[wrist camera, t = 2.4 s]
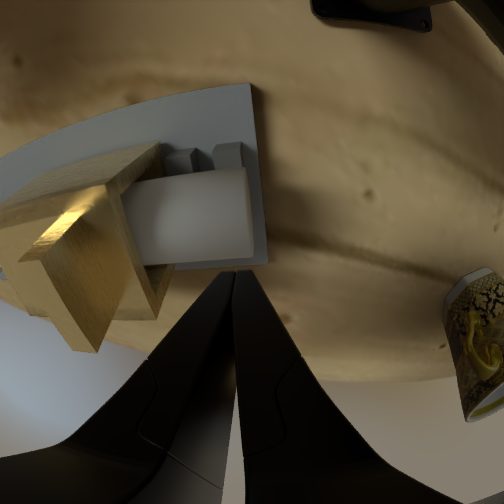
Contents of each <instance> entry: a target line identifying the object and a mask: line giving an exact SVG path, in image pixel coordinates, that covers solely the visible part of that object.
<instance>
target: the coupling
mask: <svg viewBox="0 0 504 504" xmlns="http://www.w3.org/2000/svg"><path fill="white" fill-rule="evenodd" d="M164 177H168V174H167V170H166V165H165V161H164V156H163V151H162V147H161V142H160V141H156V142H151V143H147V144H142V145H138V146H133V147H129V148H125V149H121V150H117V151H113V152H109V153H106V154H102V155H98V156H95V157H91V158H88V159H84V160H81V161H78V162H74V163H71V164H68V165H65V166H62V167H59V168H56V169H53V170H50V171H47V172H45V173H42V174H41V175H39V176H38V177H36V178H35V179H33V180H32V181H30V182H29V183H27V184H26V185H25V186H23V187H22V188H20V189H19V190H18V191H16V192H15V193H13V194H12V195H11V196H9V197H8V198H7V199H5V200H4V201H3V202H2V203H0V267H1V269H2V271H3V273H4V274H5V276H6V278H7V280H8V281H9V283H10V285H11V287H12V288H13V290H14V292H15V293H16V295H17V296H18V298H19V300H20V301H21V303H22V304H23V306H24V307H25V309H26V311H27V312H28V314H29V315H30V316H40V317H49V318H50V319H51V321H52V322H53V324H54V325H55V327H56V328H57V330H58V331H59V332H60V334H61V335H62V336H63V338H64V339H65V341H66V342H67V343H68V345H69V346H70V347H71V349H72V350H73V351H80V352H88V353H98V350H99V348H100V346H101V343H102V341H103V339H104V337H105V334H106V332H107V330H108V327H109V325H110V323H111V321H112V320H157V317H158V314H159V311H160V308H161V306H162V303H163V300H164V297H165V294H166V291H167V288H168V285H169V283H170V280H171V277H172V274H173V272H174V269H175V266H176V263H169V264H156V265H143V263H142V261H141V258H140V255H139V252H138V250H137V247H136V244H135V241H134V238H133V236H132V233H131V230H130V227H129V224H128V221H127V218H126V215H125V211H124V208H123V205H122V202H121V199H120V195H121V194H122V193H123V192H124V191H125V190H126V189H127V188H128V187H129V186H130V185H131V184H132V183H135V182H141V181H146V180H152V179H158V178H164Z"/></svg>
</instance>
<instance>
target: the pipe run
mask: <svg viewBox="0 0 504 504" xmlns="http://www.w3.org/2000/svg"><path fill="white" fill-rule="evenodd" d="M156 141H160V142H161V147H162V151H163V156H164V161H165V165H166V170H167V174H168V177H164V178H158V179H152V180H146V181H141V182H135V183H132V184H131V185H130V186H129V187H128V188H127V189H126V190H125V191H124V192H123V193H122V194H121V195H120V199H121V202H122V205H123V208H124V211H125V215H126V218H127V221H128V224H129V227H130V230H131V233H132V236H133V238H134V241H135V244H136V247H137V250H138V252H139V255H140V258H141V261H142V263H143V265H156V264H169V263H176V266H175V269H174V271H180V270H194V269H208V268H222V267H236V266H249V265H262V264H269V262H268V249H267V238H266V228H265V217H264V207H263V197H262V187H261V177H260V168H259V158H258V149H257V140H256V130H255V121H254V113H253V104H252V95H251V86H250V83H243V84H234V85H227V86H219V87H213V88H207V89H201V90H195V91H190V92H184V93H179V94H175V95H170V96H165V97H161V98H157V99H153V100H149V101H145V102H141V103H137V104H133V105H130V106H126V107H123V108H120V109H116V110H113V111H110V112H107V113H104V114H101V115H98V116H95V117H92V118H89V119H86V120H83V121H81V122H78V123H75V124H73V125H70V126H68V127H65V128H63V129H60V130H58V131H55V132H53V133H51V134H48V135H46V136H44V137H42V138H39V139H37V140H35V141H33V142H31V143H29V144H27V145H25V146H23V147H21V148H19V149H17V150H15V151H13V152H11V153H9V154H7V155H5V156H3V157H1V158H0V203H2V202H3V201H4V200H5V199H7V198H8V197H9V196H11V195H12V194H13V193H15V192H16V191H18V190H19V189H20V188H22V187H23V186H25V185H26V184H27V183H29V182H30V181H32V180H33V179H35V178H36V177H38V176H39V175H41V174H42V173H45V172H47V171H50V170H53V169H56V168H59V167H62V166H65V165H68V164H71V163H74V162H78V161H81V160H84V159H88V158H91V157H95V156H98V155H102V154H106V153H109V152H113V151H117V150H121V149H125V148H129V147H133V146H138V145H142V144H147V143H151V142H156ZM0 277H1V279H2V280H7V278H6V276H5V274H4V273H3V271H2V269H1V267H0Z"/></svg>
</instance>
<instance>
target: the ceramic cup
mask: <svg viewBox="0 0 504 504" xmlns="http://www.w3.org/2000/svg"><path fill="white" fill-rule="evenodd" d="M442 317H443V319H442V321H443V325H444V328H445V332H446V335H447V338H448V342H449V346H450V350H451V354H452V358H453V362H454V365H455V369H456V375H457V382H458V388H459V393H460V398H461V404H462V409H463V413H464V418H465V421H466V422H475V421H478V420H481V419H483V418H486V417H487V416H490V415H492V414H494V413H495V412H497V411H498V410H500V409H502V408H504V280H503V279H502V278H501V277H500V276H499V275H497V274H496V273H495V272H493V271H492V270H491V269H490V268H486V267H484V268H482V269H480V270H477V271H475V272H473V273H471V274H468V275H466V276H464V277H462V279H461V280H460V281H459V282H458V283H457V285H456V286H455V287H454V288H453V289H452V290H451V292H450V293H449V294H448V295H447V296H446V298H445V302H444V309H443V316H442Z"/></svg>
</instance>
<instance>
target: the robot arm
mask: <svg viewBox="0 0 504 504" xmlns="http://www.w3.org/2000/svg"><path fill="white" fill-rule="evenodd" d="M449 1H454V0H310V6H311V11H312V13H313V14H314V16H316V17H318V18H321V19H336V20H349V21H359V22H367V23H375V24H381V25H388V26H393V27H399V28H404V29H409V30H413V31H417V32H422V33H426V32H430V31H431V30H432V19H431V13H430V6H432V5H436V4H441V3H445V2H449ZM455 1H456V2H457V3H458V4H459V5H460V6H461V7H462V8H463V9H464V10H465V11H466V12H467V13H468V14H469V15H470V16H471V17H472V18H473V19H474V20H475V22H476V23H477V24H478V25H479V26H480V27H481V28H482V29H483V30H484V32H485V33H486V35H487V36H488V37H489V38H490V40H491V41H492V42H493V43H494V44H495V45H496V46H497V47H498V49H499V50H500V51H501V52H502V54H503V55H504V0H455ZM318 6H324V7H325V8H326V10H327V12H326V13H322V12H320V11H319V10H318ZM421 21H423V22H424V24H425V28H424V27H423V26H422V25H421ZM147 359H148V360H145V361H144V362H143V363H142V364H141V365H140V367H139V368H138V369H137V370H136V371H135V372H134V373H133V375H132V376H131V377H130V378H129V379H128V380H127V381H126V383H125V384H124V385H123V386H122V387H121V388H120V389H119V390H118V391H117V392H116V393H115V394H114V395H113V396H112V397H111V398H110V399H109V400H108V401H107V402H106V403H105V404H104V405H103V406H102V407H101V408H100V409H99V410H98V411H97V412H96V413H94V414H93V415H92V416H91V417H90V418H89V419H88V420H87V421H86V422H85V423H84V424H83V425H82V426H81V427H80V428H79V429H78V430H77V431H76V432H75V433H73V434H72V435H71V436H70V437H68V438H67V439H65V440H64V441H62V442H60V443H58V444H56V445H54V446H51V447H47V448H43V449H39V450H35V451H31V452H26V453H22V454H17V455H12V456H7V457H1V458H0V504H221V501H222V493H223V491H222V490H223V485H224V478H225V470H226V463H227V455H228V447H229V440H230V431H231V424H232V417H233V409H234V401H235V393H236V386H237V396H238V407H239V418H240V429H241V440H242V451H243V457H244V472H245V504H463V503H460V502H459V501H456V500H454V499H452V498H450V497H448V496H446V495H444V494H442V493H440V492H438V491H436V490H434V489H432V488H430V487H428V486H426V485H424V484H423V483H421V482H419V481H417V480H415V479H413V478H412V477H410V476H408V475H406V474H404V473H403V472H401V471H399V470H397V469H396V468H394V467H393V466H391V465H390V464H389V463H387V462H386V461H385V460H384V459H383V458H382V457H380V456H379V455H378V454H377V453H376V452H375V451H374V450H373V449H372V448H371V447H370V446H369V444H368V443H367V442H366V441H365V440H364V438H363V437H362V436H361V435H360V434H359V432H358V431H357V430H356V429H355V428H354V427H353V425H351V423H350V422H349V421H348V420H347V418H346V417H345V416H344V415H343V414H342V412H341V411H340V410H339V409H338V408H337V406H335V404H334V403H333V401H332V400H331V399H330V397H329V396H328V395H327V394H326V392H325V391H324V389H323V388H322V387H321V385H320V384H319V382H318V381H317V379H316V378H315V376H314V375H313V373H312V371H311V370H310V368H309V367H308V365H307V363H306V362H305V360H304V358H303V357H301V353H300V352H299V350H298V348H297V347H296V345H295V343H294V341H293V340H292V338H291V336H290V335H289V333H288V331H287V329H286V328H285V326H284V324H283V323H282V321H281V319H280V317H279V316H278V314H277V312H276V311H275V309H274V307H273V305H272V304H271V302H270V300H269V299H268V297H267V295H266V293H265V292H264V290H263V288H262V286H261V285H260V283H259V281H258V279H257V278H256V276H255V274H254V273H253V271H252V270H250V269H249V270H238V271H237V272H235V271H222V272H220V273H219V274H218V275H217V276H216V277H215V278H214V280H213V281H212V282H211V283H210V284H209V285H208V287H207V288H206V289H205V290H204V291H203V292H202V294H201V295H200V296H199V297H198V298H197V299H196V301H195V302H194V303H193V304H192V305H191V306H190V308H189V309H188V310H187V311H186V312H185V313H184V315H183V316H182V317H181V318H180V319H179V321H178V322H177V323H176V324H175V325H174V326H173V328H172V329H171V330H170V331H169V332H168V334H167V335H166V336H165V337H164V338H163V339H162V341H161V342H160V343H159V344H158V345H157V347H156V348H155V349H154V350H153V351H152V352H151V354H150V355H149V356H148V358H147ZM470 504H504V491H502V492H500V493H498V494H495V495H492V496H490V497H487V498H484V499H482V500H479V501H476V502H473V503H470Z"/></svg>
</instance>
